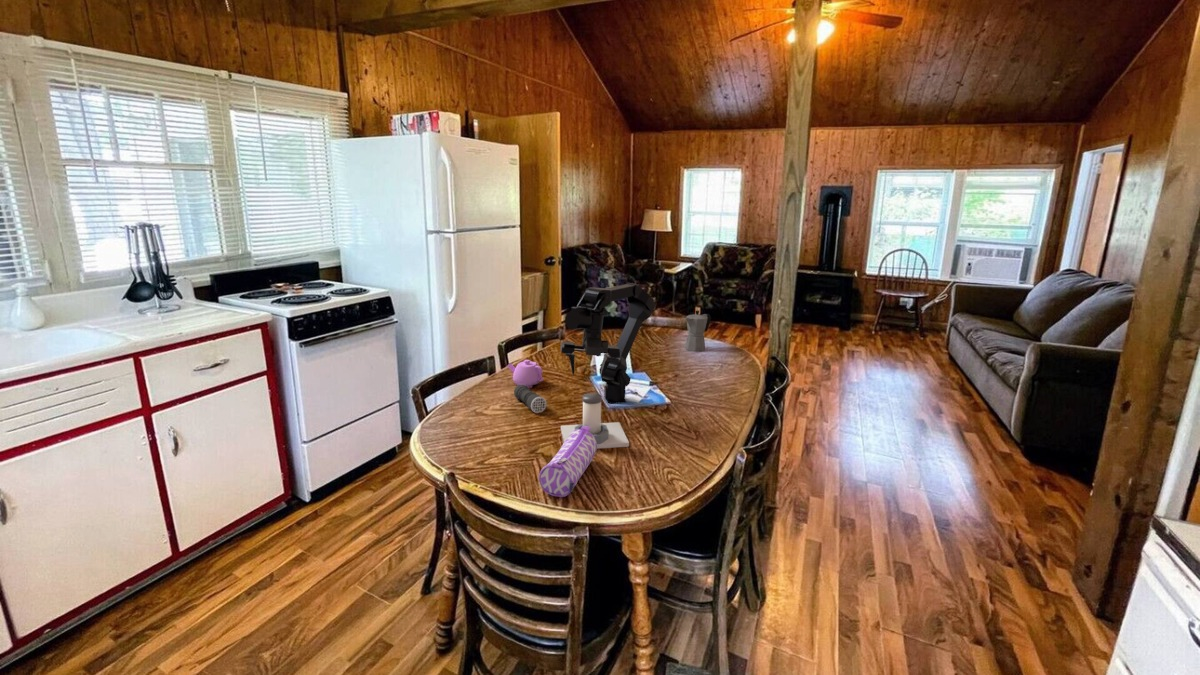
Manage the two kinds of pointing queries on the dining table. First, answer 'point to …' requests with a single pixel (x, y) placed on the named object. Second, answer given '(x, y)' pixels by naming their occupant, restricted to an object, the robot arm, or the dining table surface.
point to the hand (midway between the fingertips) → (587, 375)
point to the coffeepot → (696, 331)
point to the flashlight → (530, 398)
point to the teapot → (526, 373)
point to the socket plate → (612, 435)
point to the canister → (592, 412)
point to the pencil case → (568, 463)
